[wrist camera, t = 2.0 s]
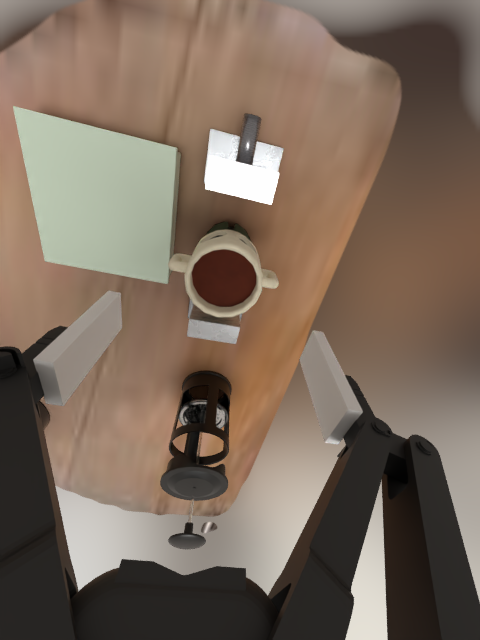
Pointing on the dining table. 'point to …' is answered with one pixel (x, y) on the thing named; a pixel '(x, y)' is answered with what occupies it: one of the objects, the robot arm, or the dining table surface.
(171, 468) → the french press
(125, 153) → the stand
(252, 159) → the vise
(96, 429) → the dining table surface
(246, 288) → the character mug
